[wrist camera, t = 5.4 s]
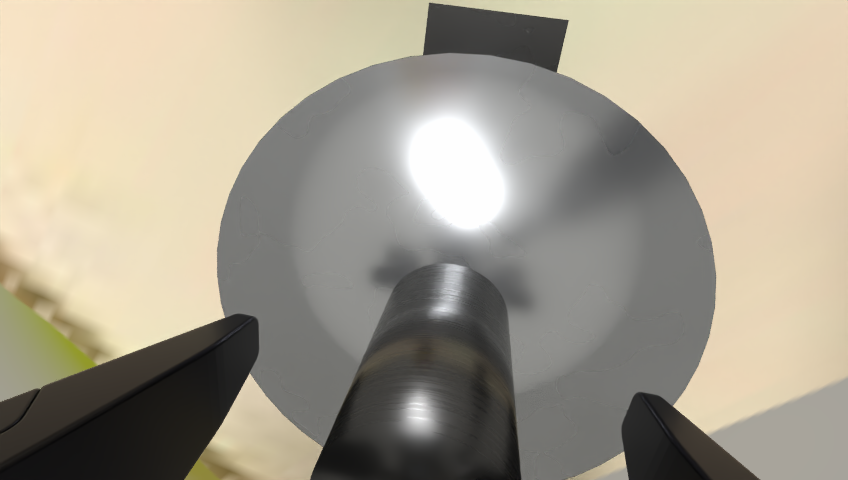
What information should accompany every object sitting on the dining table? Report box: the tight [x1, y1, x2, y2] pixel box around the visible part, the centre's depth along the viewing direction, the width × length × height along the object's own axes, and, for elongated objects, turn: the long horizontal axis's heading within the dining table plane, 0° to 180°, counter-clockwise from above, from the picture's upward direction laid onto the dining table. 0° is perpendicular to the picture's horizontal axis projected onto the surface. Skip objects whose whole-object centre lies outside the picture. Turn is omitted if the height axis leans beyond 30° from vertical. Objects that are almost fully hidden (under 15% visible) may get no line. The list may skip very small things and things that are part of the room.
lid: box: [217, 53, 716, 480], centre depth 8 cm, size 12×12×6 cm
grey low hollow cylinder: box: [423, 3, 569, 73], centre depth 13 cm, size 11×14×5 cm
